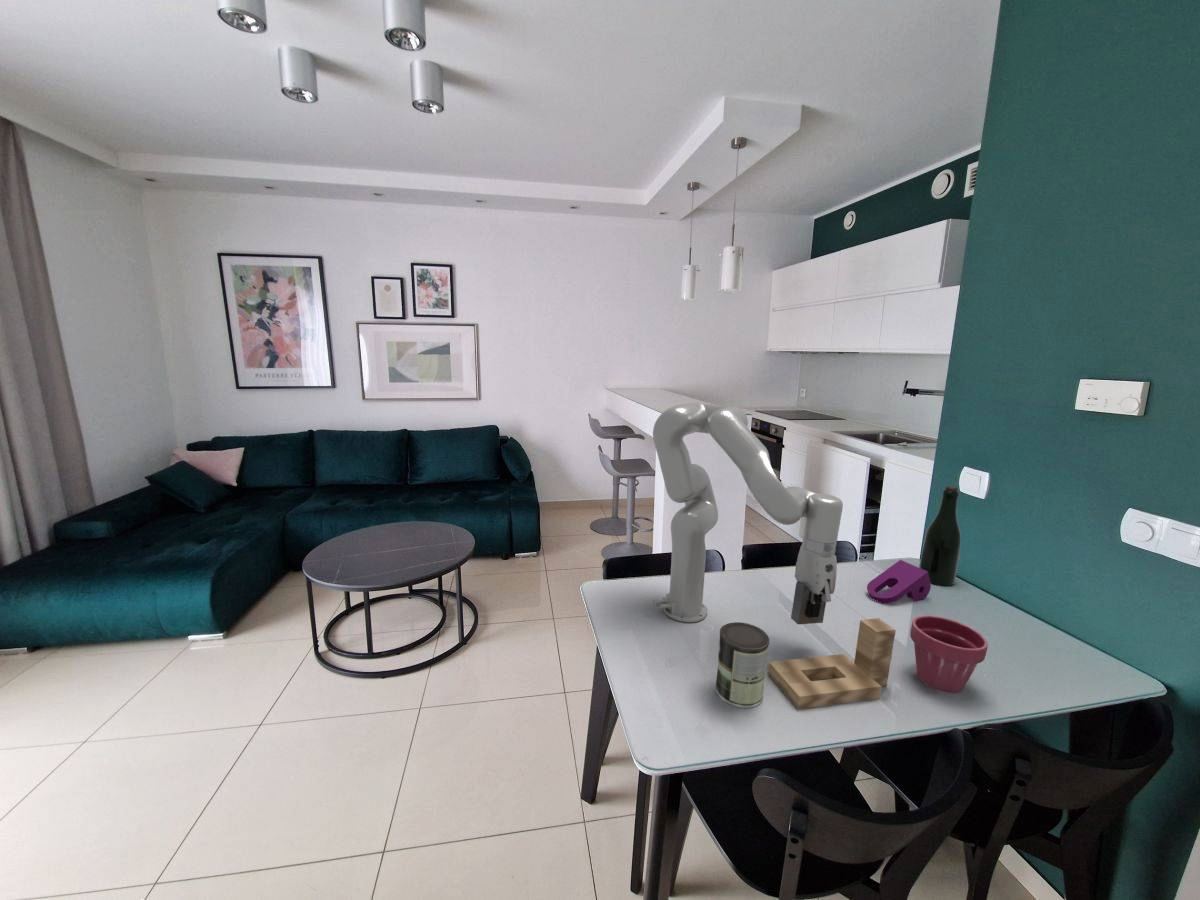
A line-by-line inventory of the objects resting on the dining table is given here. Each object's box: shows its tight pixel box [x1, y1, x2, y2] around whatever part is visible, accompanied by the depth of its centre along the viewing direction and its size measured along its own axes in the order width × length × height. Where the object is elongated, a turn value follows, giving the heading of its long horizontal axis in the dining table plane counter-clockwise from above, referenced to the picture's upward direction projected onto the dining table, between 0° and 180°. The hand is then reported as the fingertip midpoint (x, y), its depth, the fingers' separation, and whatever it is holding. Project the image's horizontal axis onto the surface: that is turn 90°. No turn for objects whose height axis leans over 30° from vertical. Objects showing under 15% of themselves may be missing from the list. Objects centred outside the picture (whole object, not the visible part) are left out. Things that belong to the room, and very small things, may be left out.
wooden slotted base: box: [767, 617, 897, 710], centre depth 111 cm, size 25×12×14 cm, turn 102°
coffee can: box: [714, 621, 770, 709], centre depth 107 cm, size 10×10×14 cm
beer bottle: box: [918, 485, 962, 587], centre depth 165 cm, size 10×10×33 cm
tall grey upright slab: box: [790, 581, 827, 625], centre depth 123 cm, size 7×3×10 cm, turn 102°
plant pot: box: [909, 615, 989, 694], centre depth 114 cm, size 14×14×13 cm
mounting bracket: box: [866, 559, 932, 604], centre depth 156 cm, size 9×8×18 cm
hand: (807, 612), depth 124 cm, fingers closed on tall grey upright slab, 3 cm apart
